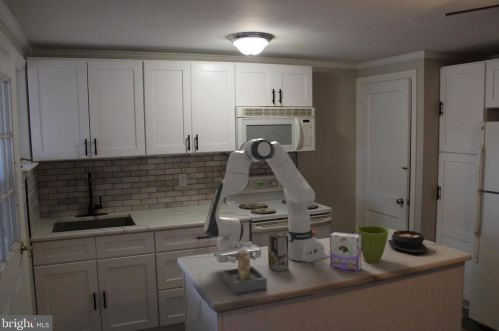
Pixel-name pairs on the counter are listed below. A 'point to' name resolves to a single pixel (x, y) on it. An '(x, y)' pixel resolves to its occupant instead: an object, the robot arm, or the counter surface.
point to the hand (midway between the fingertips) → (244, 259)
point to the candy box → (345, 251)
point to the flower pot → (372, 242)
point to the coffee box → (278, 251)
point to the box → (252, 285)
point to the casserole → (408, 241)
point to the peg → (243, 265)
